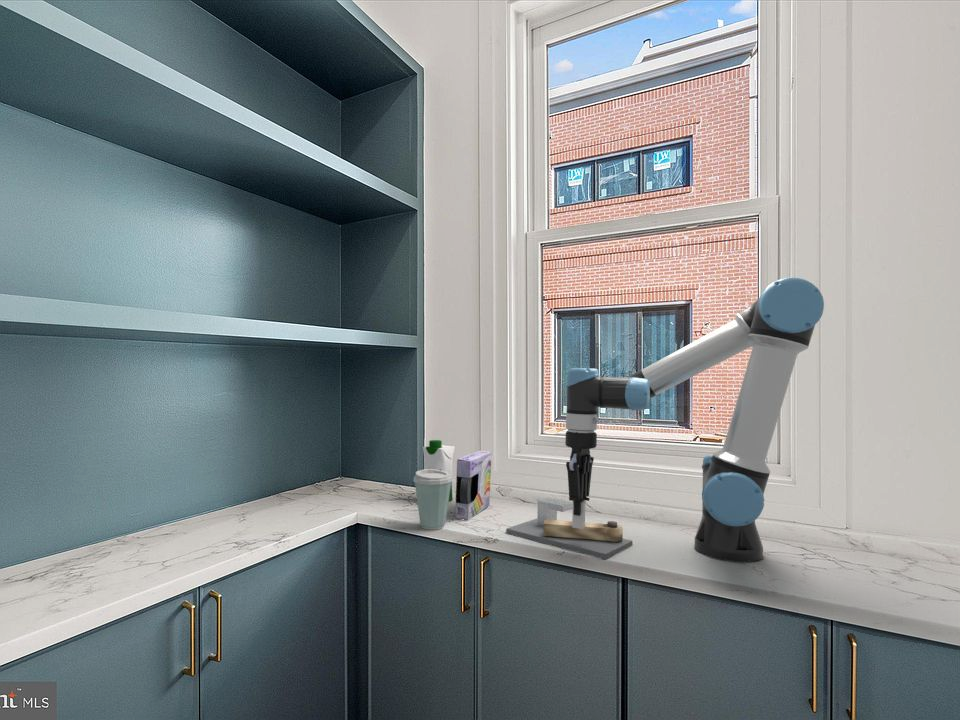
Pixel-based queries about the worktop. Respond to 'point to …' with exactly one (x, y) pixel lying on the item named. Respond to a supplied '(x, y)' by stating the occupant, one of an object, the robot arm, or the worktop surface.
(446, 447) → the milk carton
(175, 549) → the worktop surface
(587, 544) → the board
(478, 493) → the cake pan box
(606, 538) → the brass link
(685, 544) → the worktop surface
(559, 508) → the block
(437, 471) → the disposable coffee cup
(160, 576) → the worktop surface
